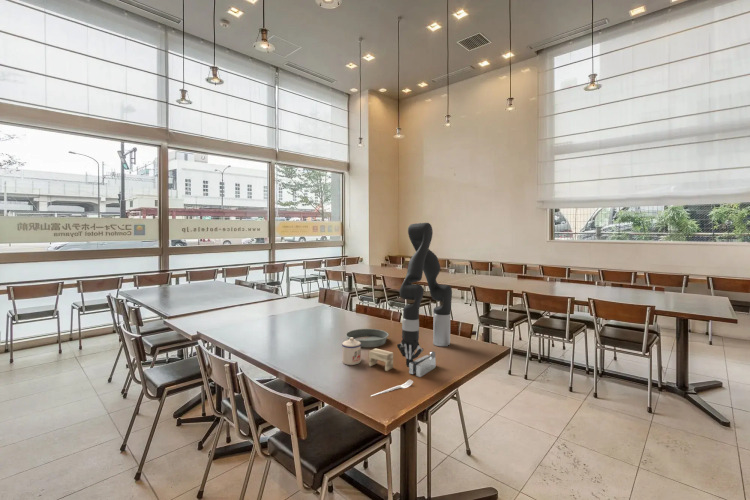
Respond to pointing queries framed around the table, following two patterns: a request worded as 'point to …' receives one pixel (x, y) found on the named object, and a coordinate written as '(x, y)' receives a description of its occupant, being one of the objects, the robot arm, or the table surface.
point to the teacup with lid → (351, 352)
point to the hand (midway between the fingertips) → (409, 366)
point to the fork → (395, 387)
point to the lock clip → (381, 358)
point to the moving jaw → (413, 364)
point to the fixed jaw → (425, 366)
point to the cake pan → (374, 340)
